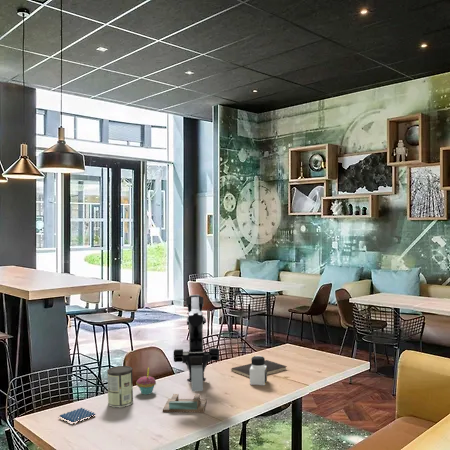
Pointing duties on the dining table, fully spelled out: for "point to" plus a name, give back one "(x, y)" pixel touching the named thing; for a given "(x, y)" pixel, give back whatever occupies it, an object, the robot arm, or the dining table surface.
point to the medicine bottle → (258, 371)
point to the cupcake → (146, 383)
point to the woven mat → (77, 415)
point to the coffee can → (120, 386)
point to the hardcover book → (271, 366)
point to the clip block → (197, 378)
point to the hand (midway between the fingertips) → (196, 373)
